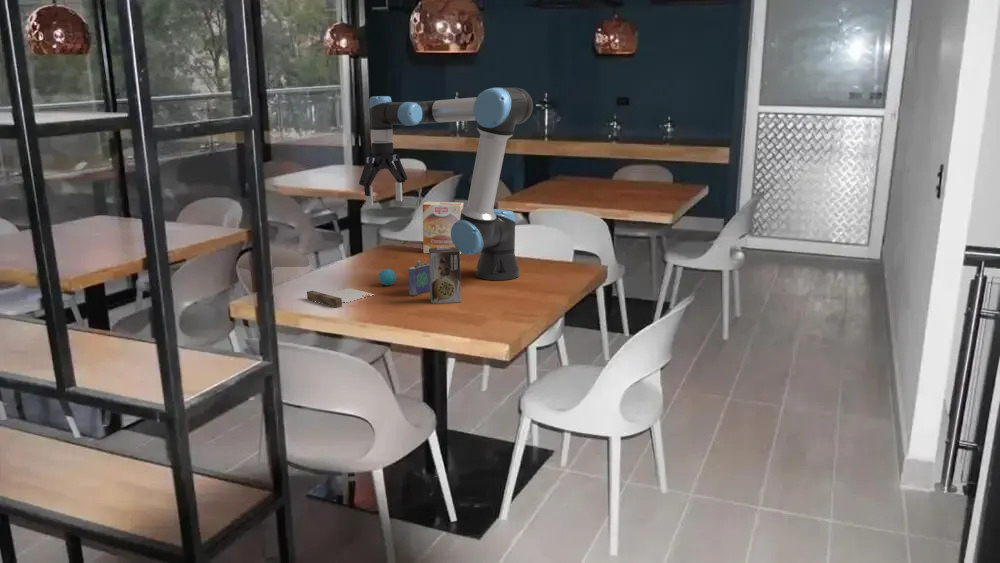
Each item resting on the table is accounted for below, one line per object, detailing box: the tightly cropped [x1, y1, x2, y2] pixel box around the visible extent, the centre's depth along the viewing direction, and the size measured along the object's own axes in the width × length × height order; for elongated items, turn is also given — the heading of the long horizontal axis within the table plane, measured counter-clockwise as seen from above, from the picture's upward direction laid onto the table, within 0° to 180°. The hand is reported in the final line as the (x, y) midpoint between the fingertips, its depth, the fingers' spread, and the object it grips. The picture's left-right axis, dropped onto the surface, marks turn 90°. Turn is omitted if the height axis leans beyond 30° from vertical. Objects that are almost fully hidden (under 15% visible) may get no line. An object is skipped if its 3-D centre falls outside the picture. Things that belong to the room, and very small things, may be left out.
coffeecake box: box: [422, 201, 464, 254], centre depth 315 cm, size 15×7×20 cm, turn 83°
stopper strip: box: [306, 290, 343, 309], centre depth 247 cm, size 14×2×2 cm, turn 50°
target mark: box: [326, 287, 376, 304], centre depth 256 cm, size 12×12×1 cm
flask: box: [408, 259, 430, 297], centre depth 258 cm, size 9×3×11 cm, turn 141°
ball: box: [378, 268, 397, 287], centre depth 268 cm, size 6×6×6 cm
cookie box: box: [428, 247, 462, 305], centre depth 249 cm, size 9×6×16 cm
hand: (384, 203), depth 286 cm, fingers open, 13 cm apart
